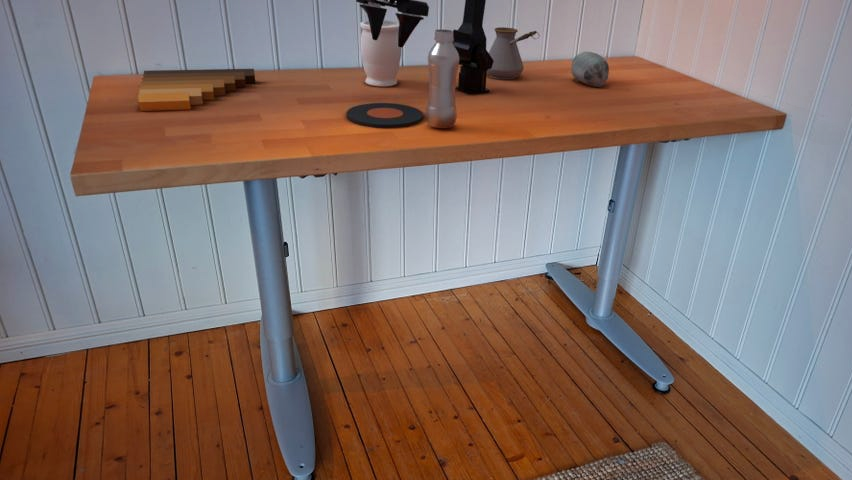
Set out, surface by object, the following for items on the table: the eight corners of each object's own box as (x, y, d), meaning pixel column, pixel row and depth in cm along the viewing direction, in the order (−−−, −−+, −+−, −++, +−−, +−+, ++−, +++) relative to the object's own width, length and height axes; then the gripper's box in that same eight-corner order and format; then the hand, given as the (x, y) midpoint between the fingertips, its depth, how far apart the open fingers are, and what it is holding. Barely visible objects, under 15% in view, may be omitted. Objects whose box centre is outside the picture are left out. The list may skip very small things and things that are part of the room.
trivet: (398, 103, 163) (398, 99, 162) (437, 122, 151) (437, 118, 150) (333, 111, 153) (333, 107, 153) (369, 132, 142) (369, 127, 141)
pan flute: (254, 80, 173) (146, 83, 165) (253, 67, 171) (144, 68, 163) (262, 107, 153) (140, 111, 144) (261, 92, 151) (137, 96, 143)
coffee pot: (475, 72, 195) (478, 18, 188) (509, 70, 200) (514, 17, 193) (512, 91, 179) (517, 32, 172) (549, 88, 184) (555, 30, 177)
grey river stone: (620, 77, 186) (606, 43, 183) (589, 93, 186) (575, 59, 183) (603, 78, 199) (590, 46, 196) (575, 93, 199) (561, 61, 196)
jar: (394, 90, 173) (394, 28, 166) (355, 85, 175) (353, 24, 167) (406, 80, 182) (406, 22, 175) (369, 76, 184) (368, 18, 177)
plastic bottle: (426, 121, 151) (428, 27, 141) (457, 123, 151) (461, 29, 141) (423, 130, 145) (425, 32, 135) (455, 132, 145) (459, 34, 135)
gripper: (339, -42, 147) (333, 33, 152) (394, -33, 135) (384, 48, 141) (380, -34, 154) (373, 37, 160) (435, -25, 143) (424, 52, 149)
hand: (387, 43), depth 152 cm, fingers open, 9 cm apart
